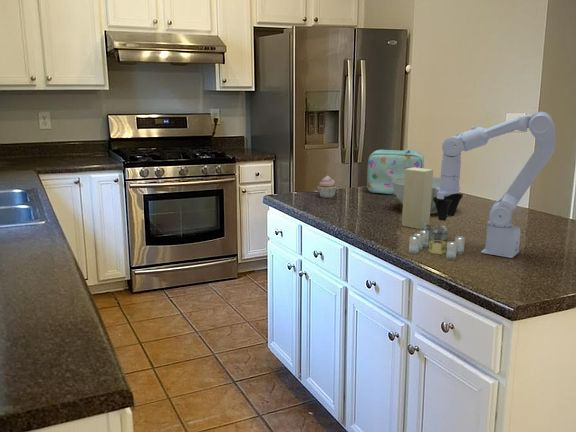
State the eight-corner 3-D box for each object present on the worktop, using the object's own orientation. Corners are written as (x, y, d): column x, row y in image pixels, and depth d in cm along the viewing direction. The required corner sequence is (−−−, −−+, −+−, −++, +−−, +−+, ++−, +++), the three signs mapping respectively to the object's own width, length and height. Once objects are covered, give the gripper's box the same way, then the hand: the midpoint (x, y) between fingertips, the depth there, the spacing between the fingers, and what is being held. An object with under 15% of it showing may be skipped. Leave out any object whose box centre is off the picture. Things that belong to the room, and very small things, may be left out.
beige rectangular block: (431, 225, 209) (434, 169, 204) (420, 229, 204) (423, 171, 199) (411, 222, 214) (414, 166, 210) (401, 225, 209) (404, 169, 204)
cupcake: (331, 194, 268) (331, 173, 265) (341, 198, 259) (341, 176, 257) (313, 196, 264) (313, 174, 262) (322, 199, 256) (323, 177, 253)
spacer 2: (423, 248, 180) (424, 233, 179) (420, 250, 178) (421, 235, 177) (415, 247, 182) (416, 232, 181) (411, 249, 179) (412, 234, 178)
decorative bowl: (455, 220, 218) (457, 189, 215) (385, 215, 226) (386, 185, 223) (458, 206, 242) (460, 178, 240) (395, 202, 251) (396, 174, 248)
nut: (446, 250, 178) (447, 240, 178) (445, 254, 174) (445, 244, 173) (429, 249, 180) (429, 239, 179) (427, 253, 176) (428, 243, 175)
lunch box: (425, 193, 270) (428, 148, 266) (423, 197, 261) (426, 150, 256) (369, 190, 278) (371, 146, 274) (365, 194, 269) (367, 148, 264)
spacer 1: (419, 252, 176) (420, 236, 175) (415, 254, 174) (416, 238, 173) (411, 251, 178) (411, 235, 177) (407, 253, 176) (408, 237, 174)
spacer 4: (457, 258, 171) (458, 242, 169) (453, 260, 168) (455, 244, 167) (448, 256, 172) (449, 240, 171) (444, 258, 170) (445, 242, 169)
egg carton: (422, 232, 201) (422, 221, 200) (444, 233, 200) (444, 222, 199) (425, 240, 190) (426, 228, 189) (448, 241, 189) (449, 229, 188)
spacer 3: (429, 245, 184) (430, 230, 183) (425, 247, 181) (426, 232, 180) (420, 244, 185) (421, 229, 184) (417, 246, 183) (418, 231, 182)
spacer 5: (464, 252, 176) (466, 237, 175) (461, 254, 174) (463, 239, 173) (456, 251, 178) (457, 235, 177) (452, 253, 175) (454, 237, 174)
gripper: (446, 171, 185) (442, 212, 188) (428, 176, 174) (425, 220, 177) (467, 173, 181) (463, 215, 184) (451, 179, 170) (447, 223, 173)
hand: (446, 217), depth 180 cm, fingers open, 7 cm apart
